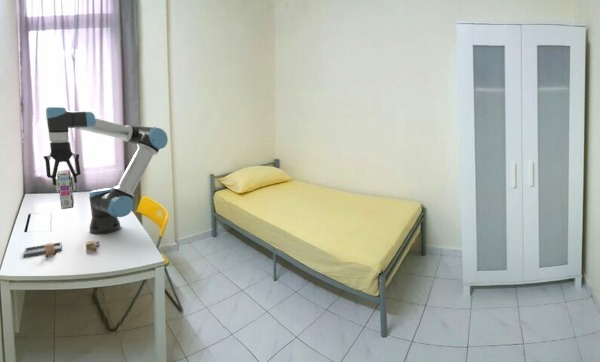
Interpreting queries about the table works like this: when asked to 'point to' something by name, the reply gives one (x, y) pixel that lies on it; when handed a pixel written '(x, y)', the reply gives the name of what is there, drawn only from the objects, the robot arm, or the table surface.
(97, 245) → the dark gray slab
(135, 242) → the table surface
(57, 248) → the slate tray
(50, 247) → the brown small cube
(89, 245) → the oak cube
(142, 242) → the table surface
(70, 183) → the candy bar box
